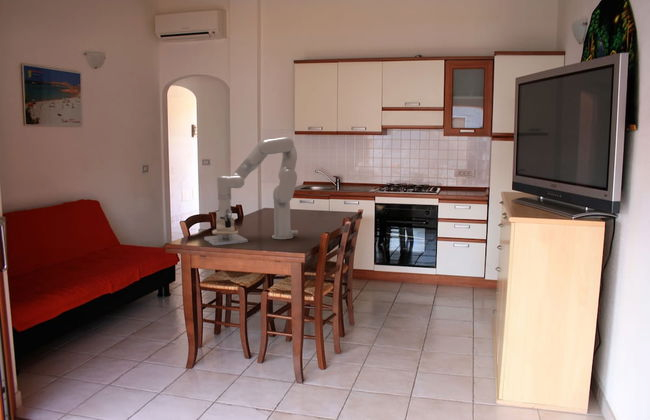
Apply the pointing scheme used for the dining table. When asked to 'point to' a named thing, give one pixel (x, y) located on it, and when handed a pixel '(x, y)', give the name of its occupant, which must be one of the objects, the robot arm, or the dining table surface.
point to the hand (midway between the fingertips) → (225, 226)
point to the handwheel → (224, 228)
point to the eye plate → (225, 239)
